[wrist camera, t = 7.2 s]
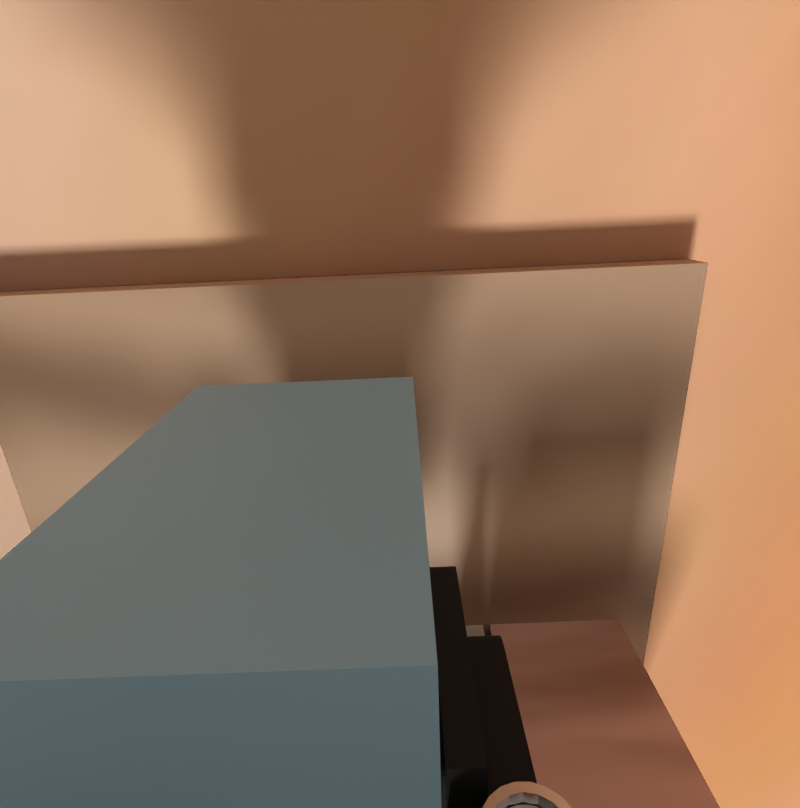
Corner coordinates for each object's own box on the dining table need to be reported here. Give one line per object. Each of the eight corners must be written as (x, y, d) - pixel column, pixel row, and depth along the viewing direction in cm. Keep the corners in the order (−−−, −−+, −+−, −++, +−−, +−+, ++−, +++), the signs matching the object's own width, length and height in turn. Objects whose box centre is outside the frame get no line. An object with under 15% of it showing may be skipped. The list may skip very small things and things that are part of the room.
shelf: (-23, 292, 15) (-751, 445, 5) (688, 258, 15) (1215, 356, 5) (137, 773, 22) (-56, 1198, 12) (614, 754, 22) (780, 1171, 12)
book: (197, 386, 10) (-142, 685, 4) (412, 376, 10) (438, 665, 4) (269, 760, 13) (158, 1233, 7) (427, 755, 13) (452, 1228, 7)
